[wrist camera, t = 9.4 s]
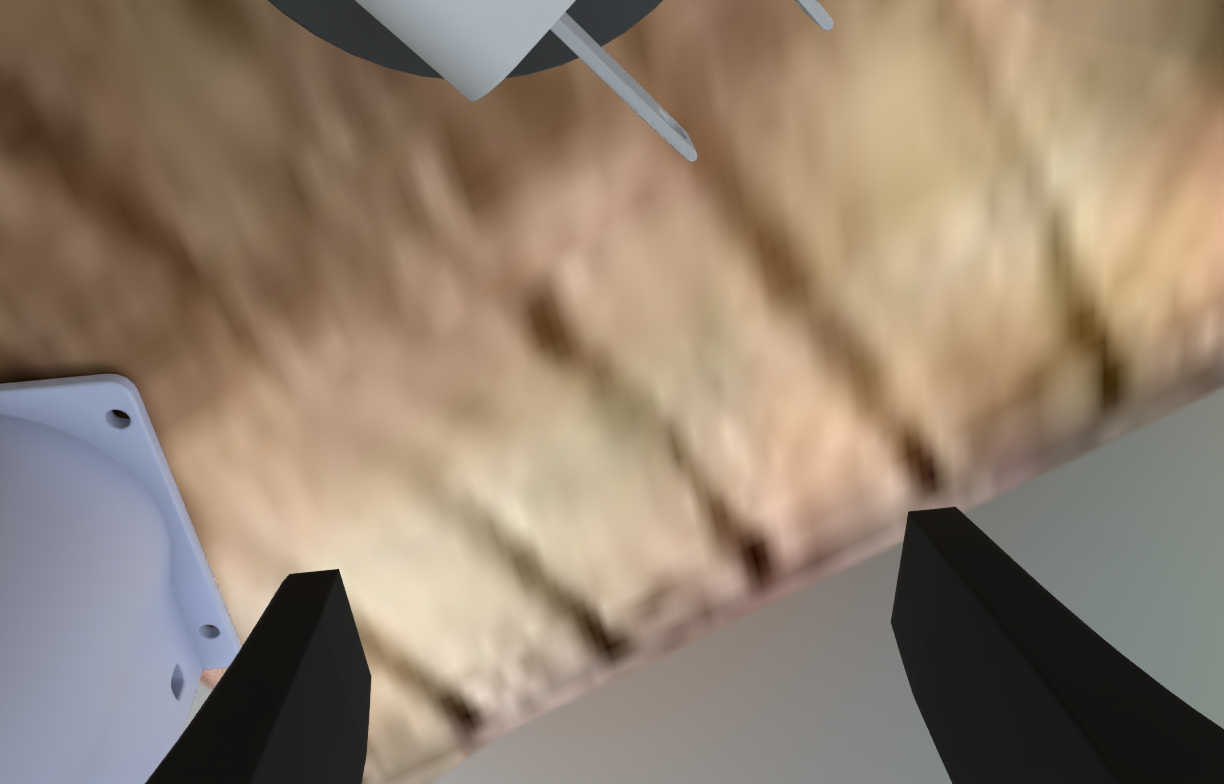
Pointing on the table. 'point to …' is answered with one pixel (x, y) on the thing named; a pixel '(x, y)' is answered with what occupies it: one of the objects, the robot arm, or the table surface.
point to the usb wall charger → (520, 47)
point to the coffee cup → (333, 15)
